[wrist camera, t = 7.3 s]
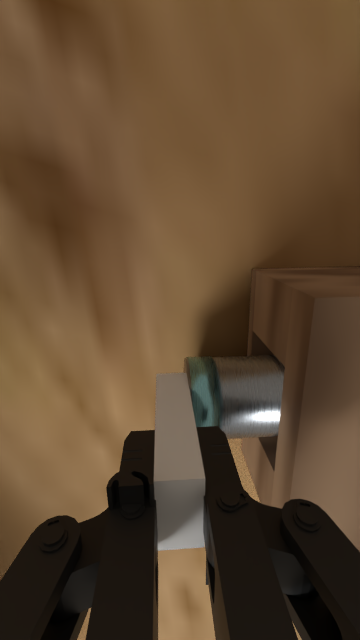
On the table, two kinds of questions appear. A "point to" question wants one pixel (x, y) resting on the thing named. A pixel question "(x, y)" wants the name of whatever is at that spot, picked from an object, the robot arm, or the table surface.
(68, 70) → the table surface
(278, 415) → the axle
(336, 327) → the brown slotted wooden block
